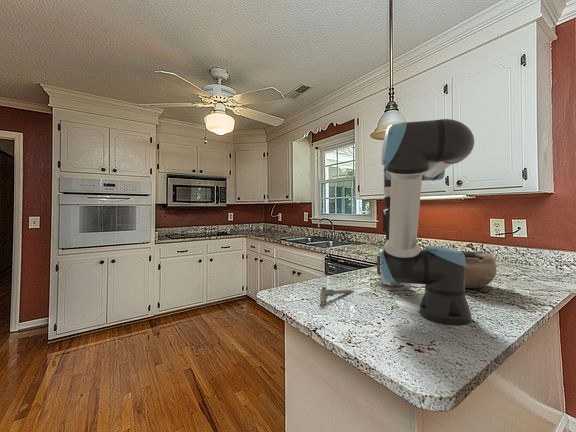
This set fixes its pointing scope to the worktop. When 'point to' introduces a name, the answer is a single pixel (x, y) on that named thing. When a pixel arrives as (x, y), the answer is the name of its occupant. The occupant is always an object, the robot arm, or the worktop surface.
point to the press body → (385, 283)
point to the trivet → (393, 287)
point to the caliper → (331, 293)
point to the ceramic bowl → (479, 269)
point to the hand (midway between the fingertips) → (392, 246)
